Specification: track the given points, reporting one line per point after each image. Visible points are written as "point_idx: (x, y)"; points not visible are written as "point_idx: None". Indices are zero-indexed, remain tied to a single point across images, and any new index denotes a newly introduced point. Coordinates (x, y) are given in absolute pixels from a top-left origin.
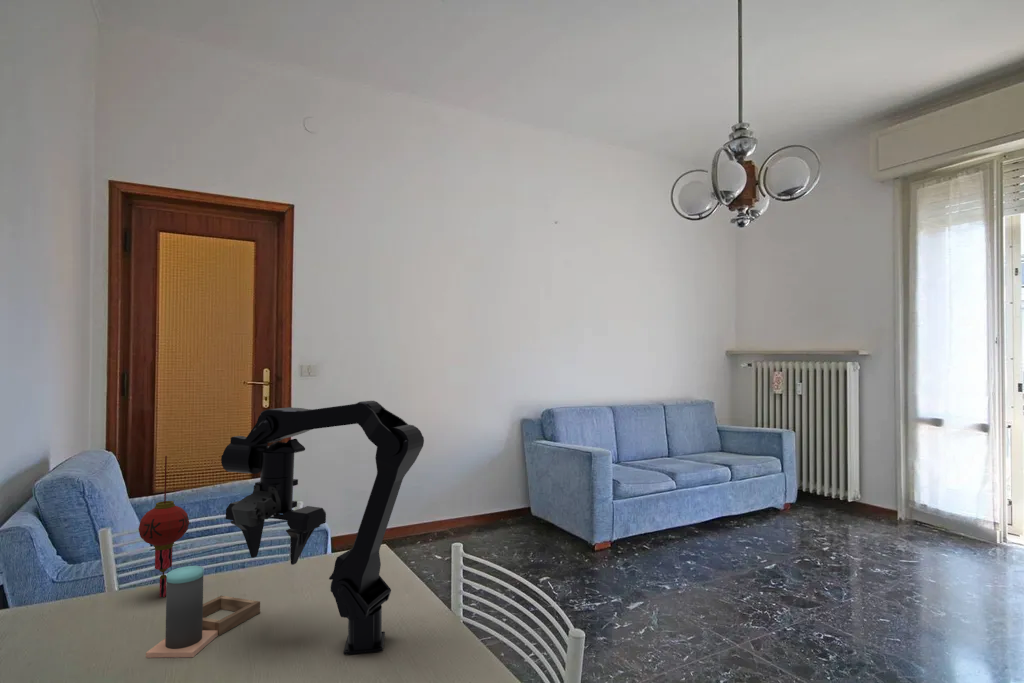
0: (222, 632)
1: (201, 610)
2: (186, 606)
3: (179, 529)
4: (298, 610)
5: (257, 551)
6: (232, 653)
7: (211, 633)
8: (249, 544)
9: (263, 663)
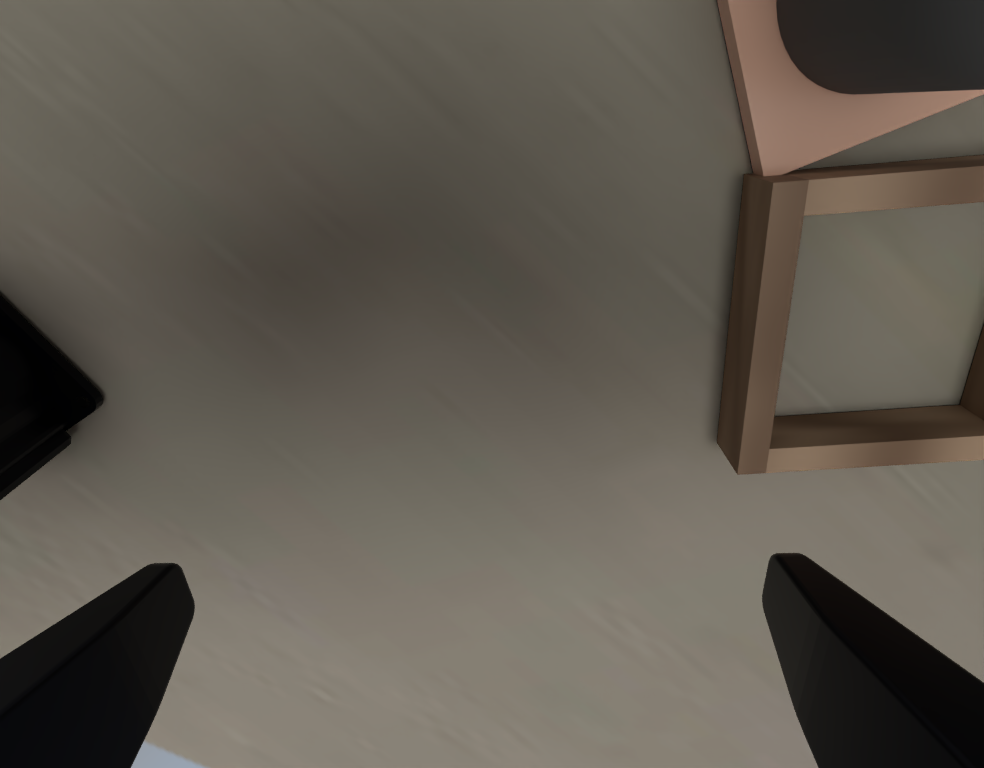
0: (744, 200)
1: (891, 13)
2: None
3: None
4: (551, 518)
5: (783, 654)
6: (500, 38)
7: (776, 132)
8: (927, 690)
9: (239, 20)
